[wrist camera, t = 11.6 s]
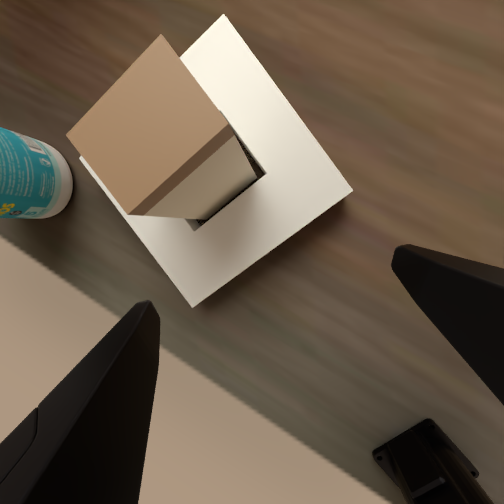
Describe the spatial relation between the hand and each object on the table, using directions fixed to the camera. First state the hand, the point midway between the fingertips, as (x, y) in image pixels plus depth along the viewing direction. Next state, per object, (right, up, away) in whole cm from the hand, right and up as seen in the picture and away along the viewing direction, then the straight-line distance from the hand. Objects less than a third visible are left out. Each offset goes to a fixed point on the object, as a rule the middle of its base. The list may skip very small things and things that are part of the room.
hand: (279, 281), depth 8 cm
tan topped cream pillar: (-4, +8, +12) cm, 15 cm away
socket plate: (-4, +8, +12) cm, 15 cm away
